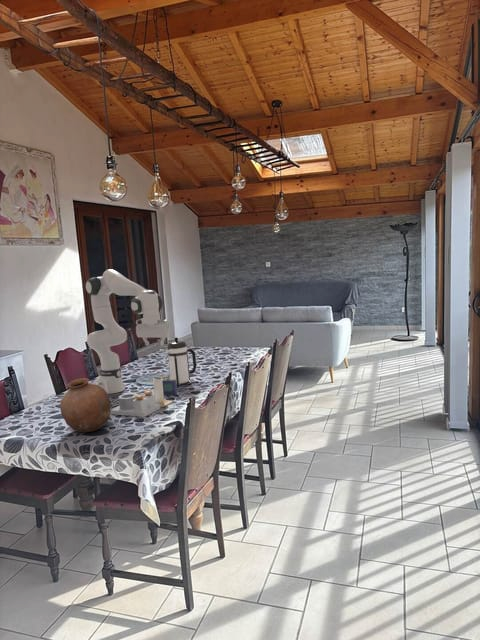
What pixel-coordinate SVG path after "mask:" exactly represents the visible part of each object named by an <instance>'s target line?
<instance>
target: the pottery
mask: <svg viewBox="0 0 480 640" xmlns="http://www.w3.org/2000/svg"><path fill="white" fill-rule="evenodd" d="M89 382H90V379H89V378H87V377H82V378H81V377H80V378H77V379H73V380H72V381H70V382H69V383H68V384H67V387H68V388H69V389H68V390H67V391H66V392H65V393H64V395H63V396H62V398H61V400H60V405H59V407H60V413H61V417H62V418H63V420H64V421H65V423H66V425H67V426H69V428H71V429H72V430H73V431H75V432H77V433H78V432H79V433H90V432H91V433H92V432H95V431H98V430H99V429H101V428H102V427H104V426H106V424H107V422H108V421H109V419H110V418H111V415H112V414H111V410H112V409H111V408H112V406H111V399H110V396H109V394H107V392H106V391H105V390H104V389H103V388H101V387H100V386H97V385H94V384H93V383H89Z"/></svg>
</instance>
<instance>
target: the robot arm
mask: <svg viewBox="0 0 480 640" xmlns="http://www.w3.org/2000/svg"><path fill="white" fill-rule="evenodd" d="M85 290H86V292H87V294H88V295H89V296H90V302H91V309H92V314H93V315H92V316H93V319H94V322H95V323H98V324H99V325H101V326H102V327H103V329H102V330H101V329H100V330H95V331H93V332H91V333H89V334H88V335H87V338H86V343H87V346H88V347H89V348H90V349H92V350H94V351H95V352H96V353H97V355H98V358H99V360H100V365H101V366H100V367H101V369H100V370H99V371H98V373H99V376H98V377H97V378H96V379H95V380H94V381H93V382H92V384H94V385H97V386H100V387H101V388H103V389H104V390H105V391H106V392H107V394H108V395H110V394H116V393H120V392H123V391H124V390H126V388H125V384H124V381H123V378H122V367H121V365H120V357H119V356H120V355H119V354H118V353H116V352H113V351H112V350H111V347H114V346H119V345H121V344H123V343H125V342H127V339H128V333H127V331H126V329H124V327H122V326H120V324H118V323H117V322H116V320H115V318H114V316H113V311H112V306H111V302H110V296H111V295H112V296H114V295H117V296H121V297H122V296H126V297H128V296H132V297H133V296H134V297H133V298H132V299H131V302H130V309H131V311H132V312H133V313H134V314H136V315H142V318H139V319H137V320H136V321H135V324H136V326H135V332H136V336H137V338H142V340H143V342H144V345H145V346H146V347H147V346H150V341H148V339H149V338H150V339H151V338H153V339H154V338H158V339H160V340H161V341H160V342H159V347H162V346H163V347H164V345H165V344H164V343H165V340H166V338H170V336H171V335H172V334H171V329H170V323H169V322H168V321H167V320H166V319H161V313H160V311H161V310H162V308H163V307H164V300H163V298H162V297H161V295H159V294H158V293H157V292H156V290H153V289H147V288H145V286H142V285H141V284H138V283H137V282H134V281H132V280H130V279H128V278H127V277H125V276H124V275H123V274H122V273H120V272H118V271H116V270H115V269H111V268H110V269H106V270H105V271H104V272H103V273H102V276H97V277H96V276H95V277H91V278H88V279H87V280H86V282H85Z"/></svg>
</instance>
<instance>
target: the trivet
mask: <svg viewBox="0 0 480 640" xmlns="http://www.w3.org/2000/svg"><path fill="white" fill-rule="evenodd" d="M173 402H174V400H166V399H164V404H161V405H160V409H161V408H162V409H163V408H166V407H167V406H168V405H170V404H172V403H173Z"/></svg>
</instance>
